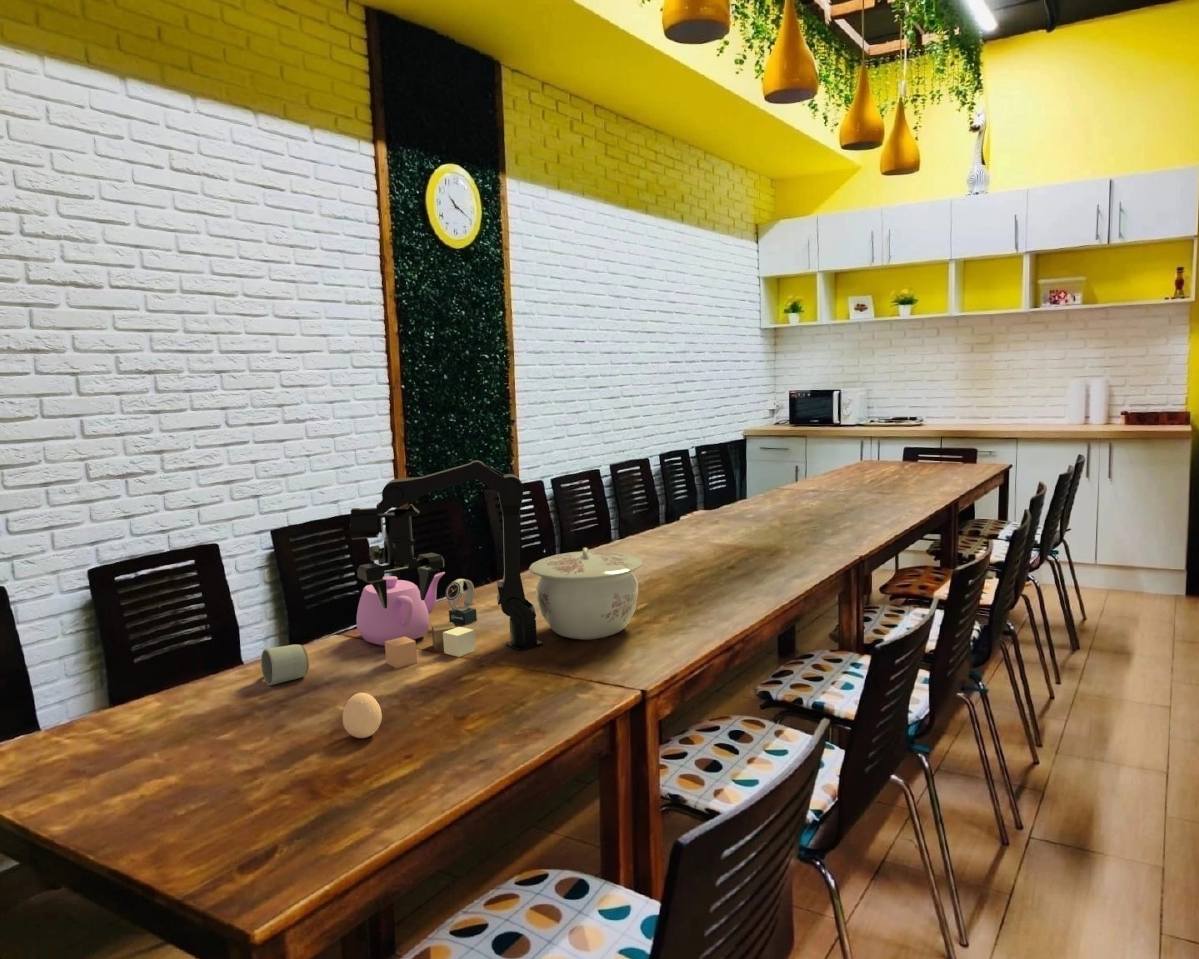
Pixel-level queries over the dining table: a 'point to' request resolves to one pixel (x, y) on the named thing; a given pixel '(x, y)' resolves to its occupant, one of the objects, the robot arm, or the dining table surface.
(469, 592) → the watch
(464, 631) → the cream cube
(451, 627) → the walnut cube
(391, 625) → the teapot
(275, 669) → the ceramic mug
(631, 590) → the chamber pot
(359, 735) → the egg
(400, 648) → the terracotta cube
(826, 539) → the dining table surface
